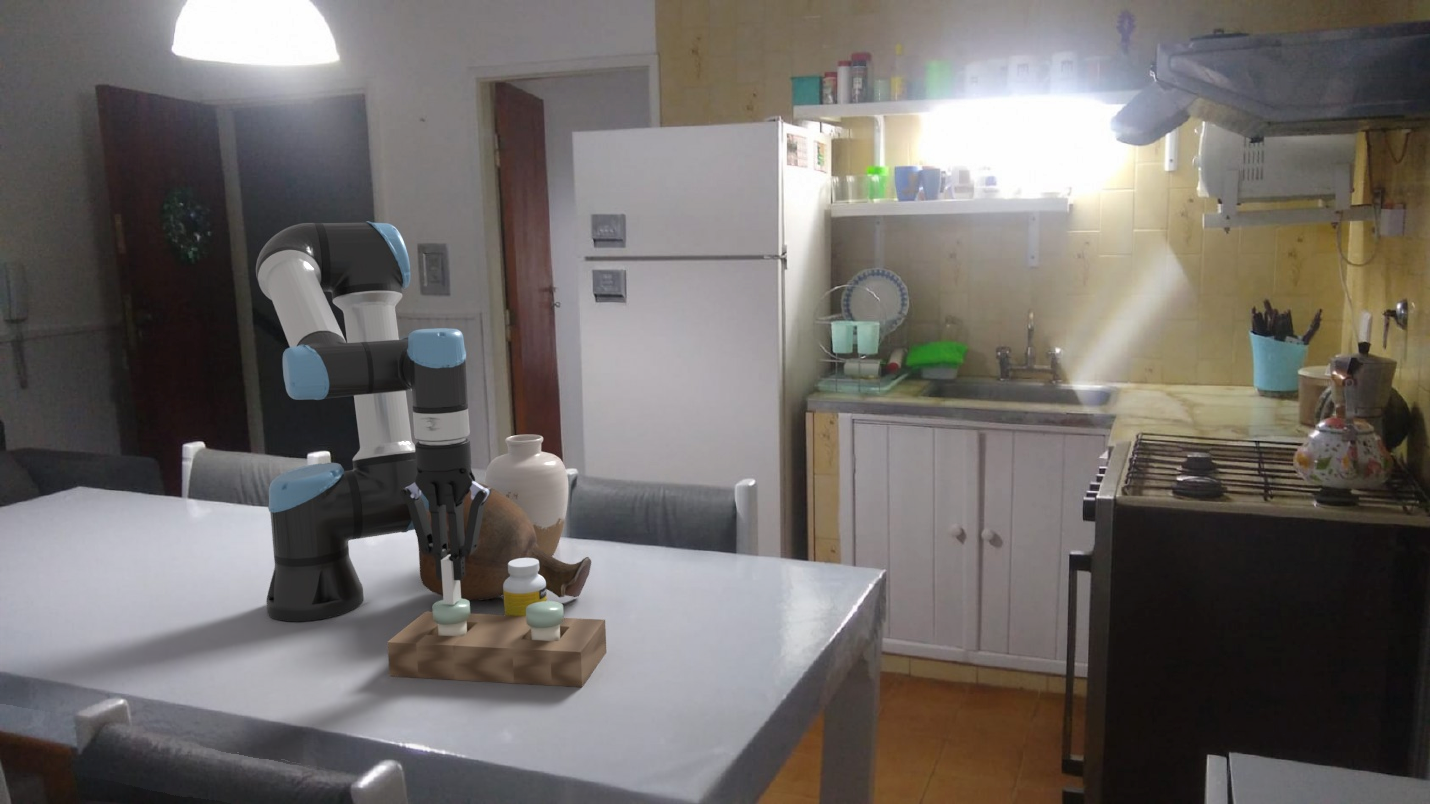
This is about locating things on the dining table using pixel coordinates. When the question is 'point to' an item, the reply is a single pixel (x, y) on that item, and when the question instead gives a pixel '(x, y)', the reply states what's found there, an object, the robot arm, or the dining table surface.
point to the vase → (533, 486)
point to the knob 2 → (545, 620)
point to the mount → (498, 651)
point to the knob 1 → (451, 617)
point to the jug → (504, 554)
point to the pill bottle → (523, 586)
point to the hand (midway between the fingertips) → (452, 600)
